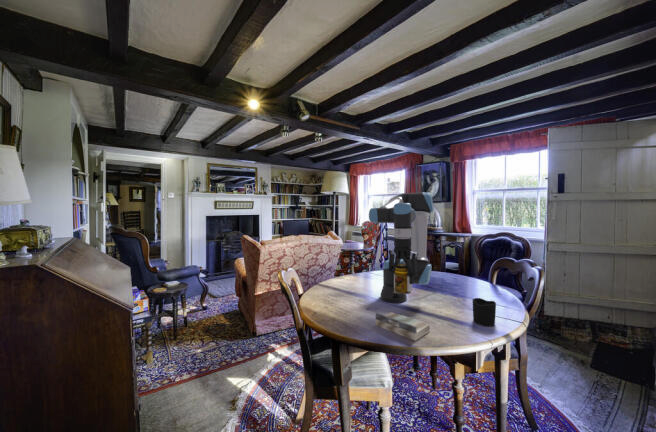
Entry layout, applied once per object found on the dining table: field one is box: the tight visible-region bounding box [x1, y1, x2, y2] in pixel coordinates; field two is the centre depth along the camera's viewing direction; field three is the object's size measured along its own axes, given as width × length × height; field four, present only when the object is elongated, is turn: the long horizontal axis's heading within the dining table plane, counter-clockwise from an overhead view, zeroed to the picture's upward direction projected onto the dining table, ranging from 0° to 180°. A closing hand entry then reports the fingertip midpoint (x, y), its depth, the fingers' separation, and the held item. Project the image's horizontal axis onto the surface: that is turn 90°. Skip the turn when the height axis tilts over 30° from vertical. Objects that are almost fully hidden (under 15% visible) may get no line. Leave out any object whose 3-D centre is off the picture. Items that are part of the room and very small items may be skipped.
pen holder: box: [472, 297, 497, 327], centre depth 124 cm, size 9×9×10 cm
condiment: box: [393, 264, 412, 295], centre depth 120 cm, size 7×8×12 cm
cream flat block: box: [375, 311, 431, 342], centre depth 119 cm, size 20×12×6 cm, turn 42°
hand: (402, 289), depth 120 cm, fingers closed on condiment, 6 cm apart
